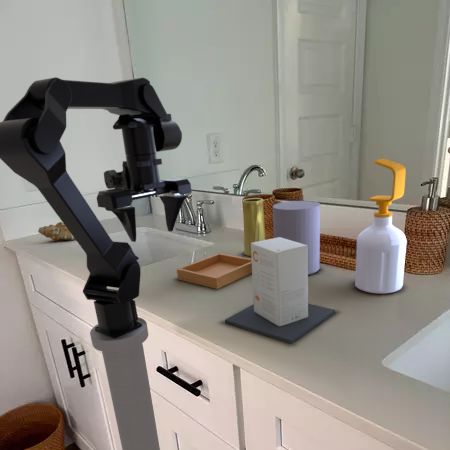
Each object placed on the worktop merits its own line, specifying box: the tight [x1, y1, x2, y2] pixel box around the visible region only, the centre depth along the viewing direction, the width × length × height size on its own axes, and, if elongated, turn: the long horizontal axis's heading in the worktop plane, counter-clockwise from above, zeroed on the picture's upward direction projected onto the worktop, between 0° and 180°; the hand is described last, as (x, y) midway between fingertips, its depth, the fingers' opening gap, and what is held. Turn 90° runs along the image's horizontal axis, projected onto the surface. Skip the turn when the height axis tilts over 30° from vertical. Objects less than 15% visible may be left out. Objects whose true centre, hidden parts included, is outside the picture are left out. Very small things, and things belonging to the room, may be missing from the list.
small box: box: [250, 237, 309, 326], centre depth 74 cm, size 8×6×13 cm
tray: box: [176, 252, 252, 290], centre depth 101 cm, size 15×13×2 cm
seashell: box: [37, 221, 76, 242], centre depth 146 cm, size 9×8×10 cm
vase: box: [242, 197, 267, 257], centre depth 112 cm, size 6×6×14 cm
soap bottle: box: [354, 158, 408, 295], centre depth 82 cm, size 9×9×25 cm
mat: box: [224, 303, 336, 344], centre depth 76 cm, size 14×14×1 cm
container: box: [272, 200, 321, 276], centre depth 97 cm, size 10×10×15 cm
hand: (152, 236), depth 86 cm, fingers open, 9 cm apart
